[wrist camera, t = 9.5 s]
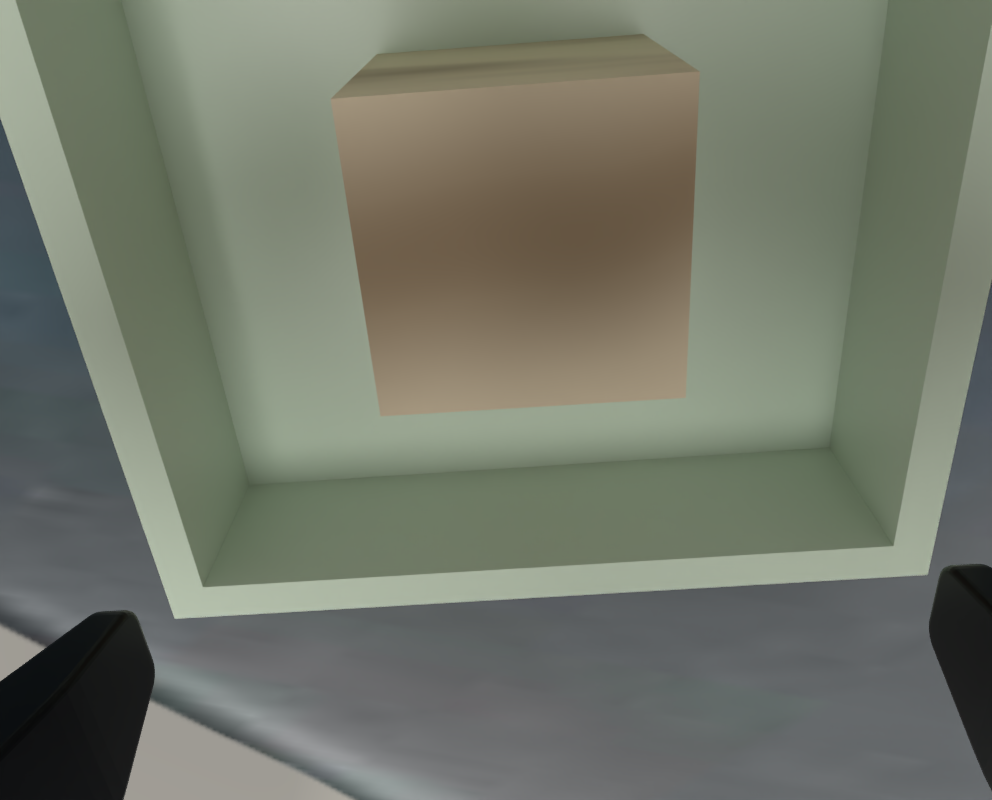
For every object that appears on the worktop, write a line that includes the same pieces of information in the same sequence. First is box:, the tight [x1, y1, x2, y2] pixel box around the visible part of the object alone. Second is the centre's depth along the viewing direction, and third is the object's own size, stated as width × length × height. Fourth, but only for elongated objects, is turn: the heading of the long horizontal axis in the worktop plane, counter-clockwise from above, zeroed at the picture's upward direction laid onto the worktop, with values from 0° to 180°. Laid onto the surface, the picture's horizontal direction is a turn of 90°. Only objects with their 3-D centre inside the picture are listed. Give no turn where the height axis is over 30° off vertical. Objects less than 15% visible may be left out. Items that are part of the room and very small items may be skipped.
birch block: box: [331, 34, 700, 416], centre depth 15 cm, size 5×5×5 cm
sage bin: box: [0, 0, 992, 619], centre depth 16 cm, size 16×16×4 cm
